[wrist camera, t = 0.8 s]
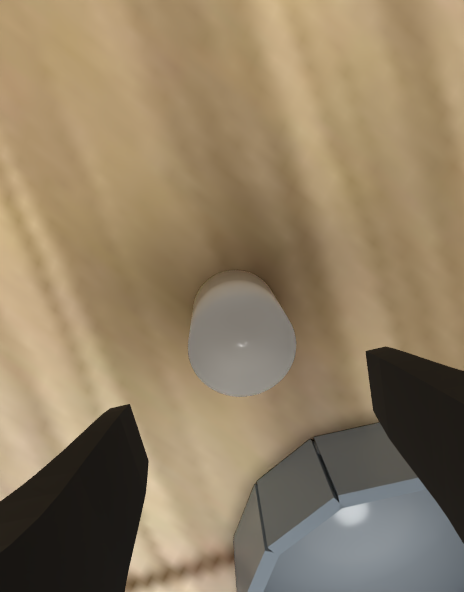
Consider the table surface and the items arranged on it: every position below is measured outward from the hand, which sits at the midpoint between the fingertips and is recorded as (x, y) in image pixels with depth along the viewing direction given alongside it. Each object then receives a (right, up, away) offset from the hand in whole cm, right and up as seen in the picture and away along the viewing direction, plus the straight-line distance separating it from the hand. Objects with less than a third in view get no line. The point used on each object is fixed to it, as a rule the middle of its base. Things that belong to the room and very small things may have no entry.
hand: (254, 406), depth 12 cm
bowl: (+8, -12, +14) cm, 20 cm away
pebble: (-1, +3, +9) cm, 9 cm away
